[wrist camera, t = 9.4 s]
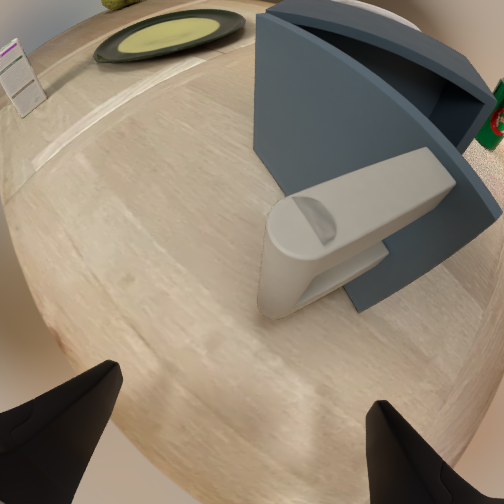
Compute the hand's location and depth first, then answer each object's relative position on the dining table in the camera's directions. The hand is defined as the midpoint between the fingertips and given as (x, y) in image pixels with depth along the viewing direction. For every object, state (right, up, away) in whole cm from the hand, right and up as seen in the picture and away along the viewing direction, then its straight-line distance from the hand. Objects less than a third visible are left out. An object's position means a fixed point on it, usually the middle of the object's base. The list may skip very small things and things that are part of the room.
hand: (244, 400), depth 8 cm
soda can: (+35, +22, +19) cm, 45 cm away
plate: (-15, +44, +28) cm, 54 cm away
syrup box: (-38, +31, +22) cm, 54 cm away
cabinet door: (+1, +6, +11) cm, 13 cm away
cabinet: (+10, +16, +15) cm, 24 cm away
